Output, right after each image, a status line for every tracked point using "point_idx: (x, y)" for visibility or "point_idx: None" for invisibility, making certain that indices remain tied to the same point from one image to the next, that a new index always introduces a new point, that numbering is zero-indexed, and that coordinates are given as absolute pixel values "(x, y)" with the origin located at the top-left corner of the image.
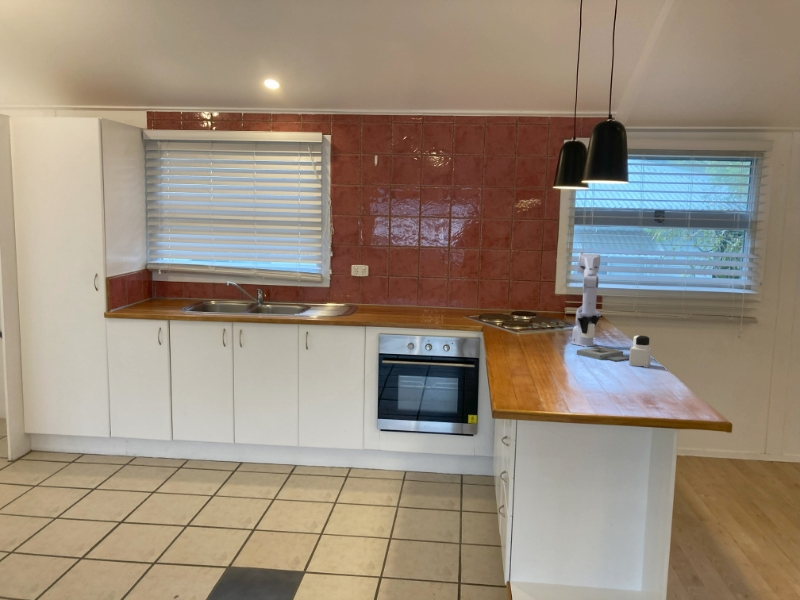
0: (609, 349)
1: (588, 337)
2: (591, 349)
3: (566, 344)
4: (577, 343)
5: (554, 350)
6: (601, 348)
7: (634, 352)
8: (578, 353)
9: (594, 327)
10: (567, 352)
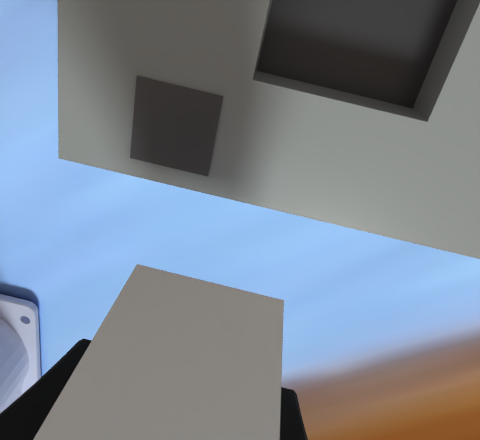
0: None
1: (279, 305)
2: (328, 155)
3: None
4: (22, 384)
5: (400, 414)
6: (168, 85)
7: None
8: None
9: (58, 415)
10: (416, 325)
